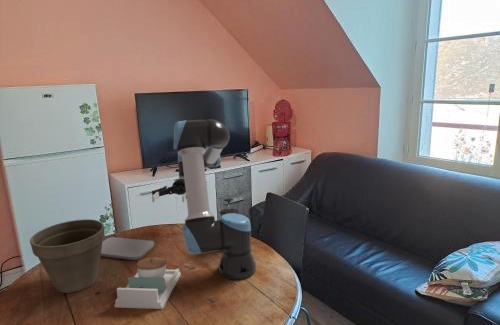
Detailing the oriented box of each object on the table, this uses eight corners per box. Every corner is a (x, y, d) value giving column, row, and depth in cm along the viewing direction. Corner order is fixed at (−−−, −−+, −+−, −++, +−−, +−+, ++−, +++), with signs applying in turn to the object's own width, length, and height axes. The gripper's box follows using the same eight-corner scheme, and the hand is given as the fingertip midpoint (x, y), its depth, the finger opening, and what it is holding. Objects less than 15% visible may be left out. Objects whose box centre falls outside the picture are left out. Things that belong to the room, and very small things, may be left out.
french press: (243, 241, 165) (241, 196, 160) (239, 250, 156) (238, 203, 151) (219, 240, 167) (217, 195, 162) (214, 249, 158) (212, 202, 153)
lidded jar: (158, 288, 122) (158, 263, 122) (131, 286, 125) (131, 261, 124) (171, 277, 133) (170, 254, 133) (146, 276, 135) (145, 252, 135)
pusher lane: (140, 273, 138) (138, 257, 137) (180, 274, 137) (179, 258, 135) (114, 307, 117) (112, 289, 116) (162, 309, 116) (160, 290, 114)
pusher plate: (130, 289, 125) (128, 277, 124) (165, 290, 124) (164, 278, 123) (129, 290, 124) (127, 278, 123) (164, 291, 123) (163, 279, 122)
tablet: (110, 240, 170) (110, 236, 170) (157, 245, 163) (156, 241, 163) (87, 256, 155) (87, 251, 154) (138, 262, 148) (137, 257, 148)
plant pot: (23, 302, 121) (13, 246, 116) (61, 266, 145) (54, 219, 140) (93, 301, 121) (85, 245, 116) (119, 265, 145) (114, 218, 140)
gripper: (206, 192, 170) (196, 207, 149) (157, 192, 172) (141, 207, 151) (205, 178, 168) (195, 191, 148) (156, 178, 171) (139, 191, 150)
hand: (167, 199), depth 150 cm, fingers open, 13 cm apart
